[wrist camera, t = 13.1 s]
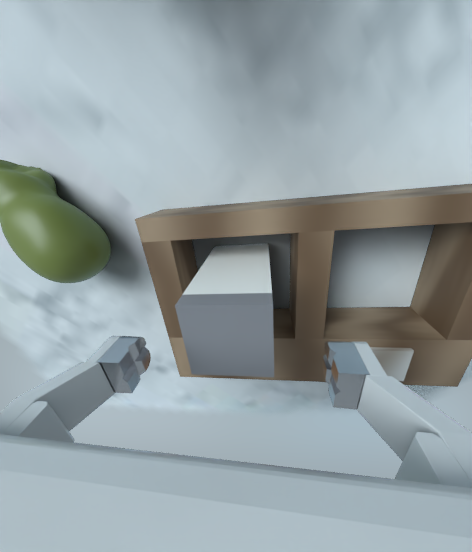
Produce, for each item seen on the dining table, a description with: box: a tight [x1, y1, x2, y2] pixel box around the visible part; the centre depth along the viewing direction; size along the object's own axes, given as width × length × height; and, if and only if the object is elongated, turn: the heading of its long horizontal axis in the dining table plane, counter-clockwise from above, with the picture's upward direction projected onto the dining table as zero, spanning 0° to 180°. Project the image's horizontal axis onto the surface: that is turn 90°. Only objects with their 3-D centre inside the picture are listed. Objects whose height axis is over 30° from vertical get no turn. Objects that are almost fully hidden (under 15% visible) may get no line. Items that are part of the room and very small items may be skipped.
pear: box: [0, 160, 111, 283], centre depth 16 cm, size 6×5×10 cm
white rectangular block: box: [175, 243, 274, 377], centre depth 14 cm, size 4×4×9 cm
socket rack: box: [135, 184, 472, 387], centre depth 16 cm, size 22×14×4 cm, turn 95°
